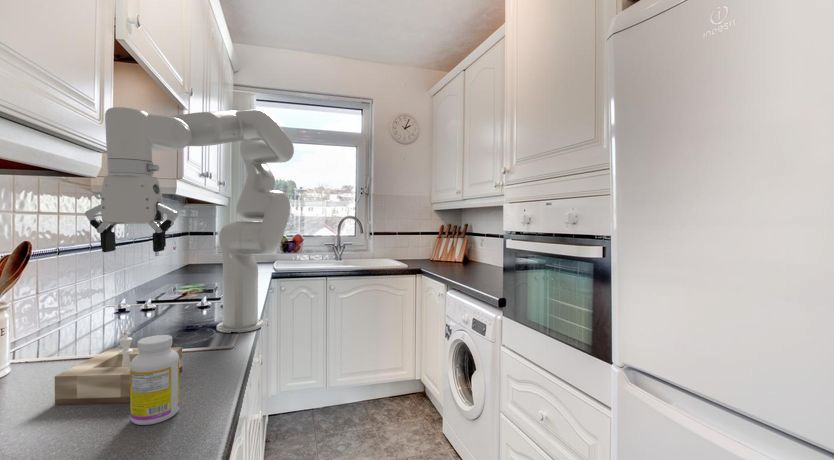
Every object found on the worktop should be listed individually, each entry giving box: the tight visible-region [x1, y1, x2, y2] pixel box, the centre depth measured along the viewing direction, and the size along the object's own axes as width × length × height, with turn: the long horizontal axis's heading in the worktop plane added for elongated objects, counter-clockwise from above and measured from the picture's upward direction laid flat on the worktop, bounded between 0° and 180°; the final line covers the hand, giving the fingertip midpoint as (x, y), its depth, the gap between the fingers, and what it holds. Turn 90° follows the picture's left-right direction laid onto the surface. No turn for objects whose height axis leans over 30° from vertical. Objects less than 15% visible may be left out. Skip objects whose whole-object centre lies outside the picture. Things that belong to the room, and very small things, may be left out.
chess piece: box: [119, 328, 133, 367], centre depth 73 cm, size 5×5×10 cm
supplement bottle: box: [129, 334, 180, 426], centre depth 62 cm, size 7×7×13 cm
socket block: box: [54, 346, 183, 406], centre depth 73 cm, size 14×14×5 cm
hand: (134, 251), depth 80 cm, fingers open, 9 cm apart
